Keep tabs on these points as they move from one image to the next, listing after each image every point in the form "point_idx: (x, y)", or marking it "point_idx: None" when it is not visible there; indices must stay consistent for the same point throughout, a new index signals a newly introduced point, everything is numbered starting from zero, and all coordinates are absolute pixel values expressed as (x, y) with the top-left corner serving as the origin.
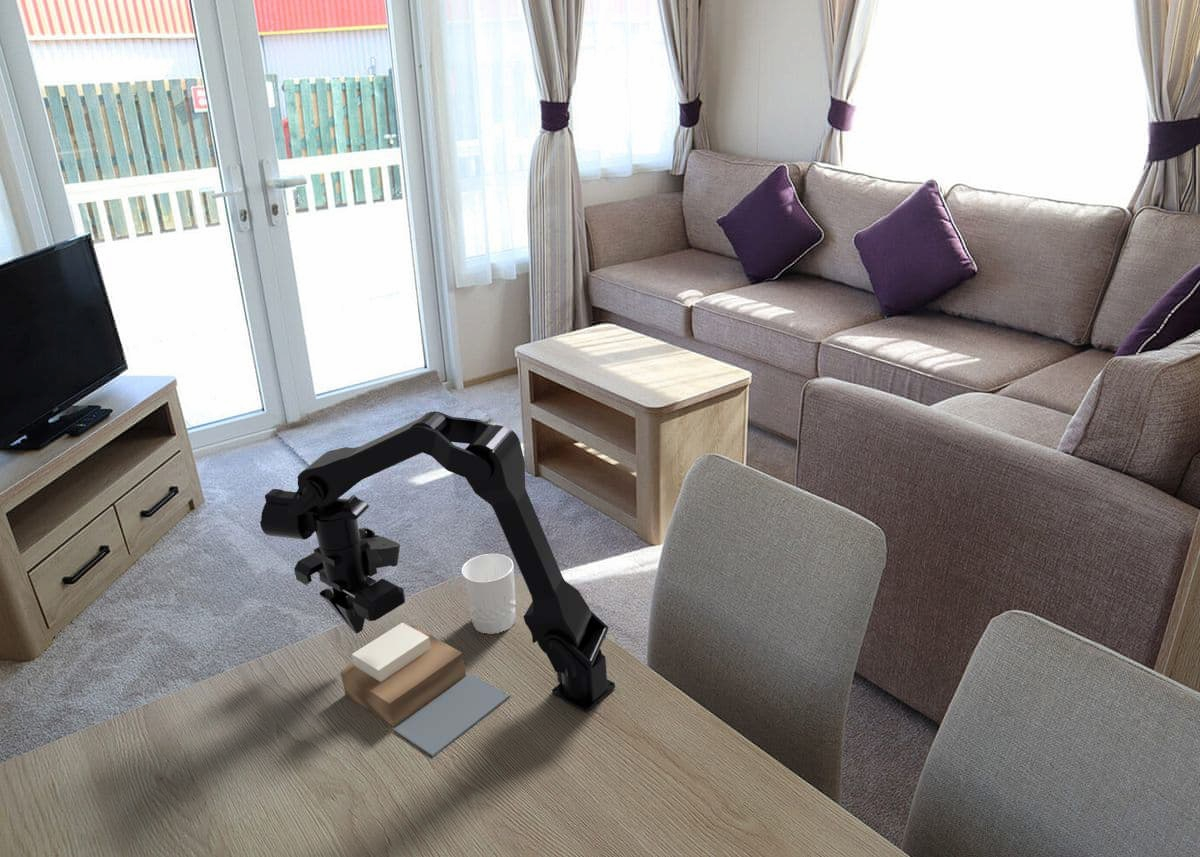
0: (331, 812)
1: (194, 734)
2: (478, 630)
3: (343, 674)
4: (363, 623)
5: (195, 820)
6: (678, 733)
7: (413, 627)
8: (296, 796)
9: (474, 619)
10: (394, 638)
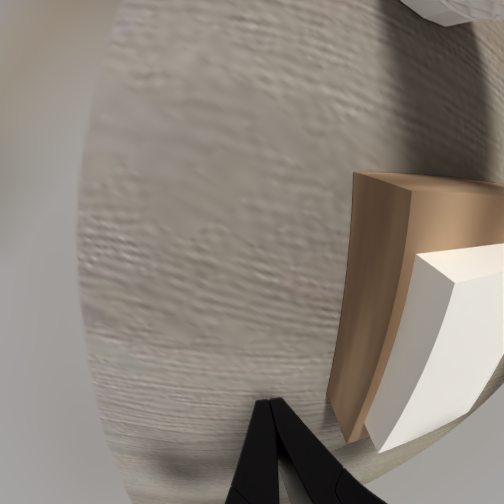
0: (439, 428)
1: (205, 494)
2: (433, 21)
3: (358, 439)
4: (303, 423)
5: None
6: None
7: (422, 200)
8: (397, 450)
9: (452, 11)
10: (466, 353)
